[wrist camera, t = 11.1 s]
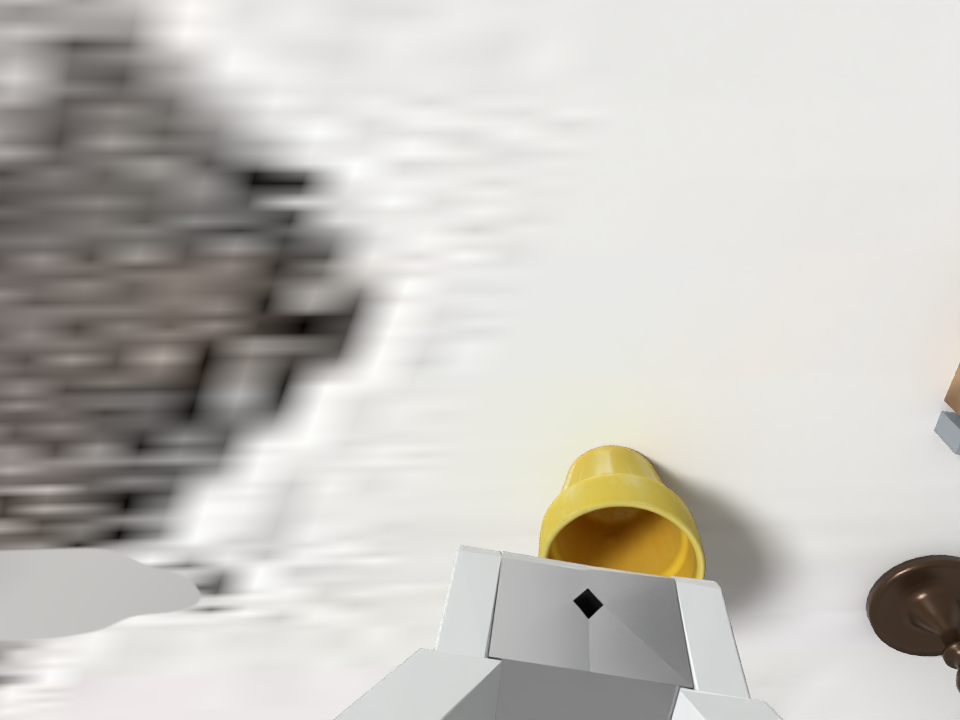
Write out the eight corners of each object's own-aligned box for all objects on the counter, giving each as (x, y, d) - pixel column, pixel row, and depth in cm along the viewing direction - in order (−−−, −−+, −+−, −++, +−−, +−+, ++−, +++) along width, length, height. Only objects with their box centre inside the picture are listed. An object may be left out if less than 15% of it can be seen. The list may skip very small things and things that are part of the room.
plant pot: (712, 458, 52) (741, 546, 43) (640, 558, 56) (652, 656, 47) (583, 398, 51) (585, 475, 42) (520, 504, 55) (510, 593, 47)
